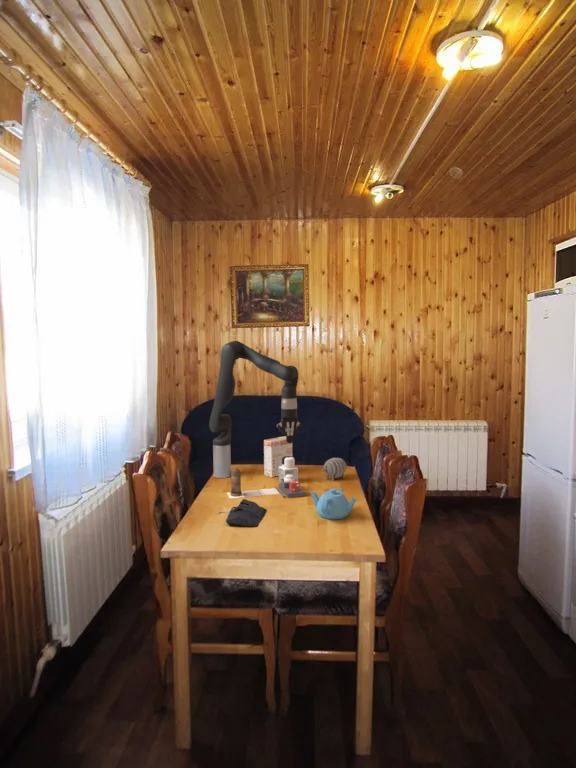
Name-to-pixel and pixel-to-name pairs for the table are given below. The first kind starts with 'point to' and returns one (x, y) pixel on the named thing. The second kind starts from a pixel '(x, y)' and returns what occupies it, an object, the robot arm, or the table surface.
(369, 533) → the table surface
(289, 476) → the dome
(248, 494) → the board
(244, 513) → the black folded cloth
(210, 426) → the robot arm
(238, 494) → the pawn
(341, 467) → the toy sheep
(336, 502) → the teapot
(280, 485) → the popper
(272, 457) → the coffeecake box
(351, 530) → the table surface
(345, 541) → the table surface
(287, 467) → the container
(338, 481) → the table surface
